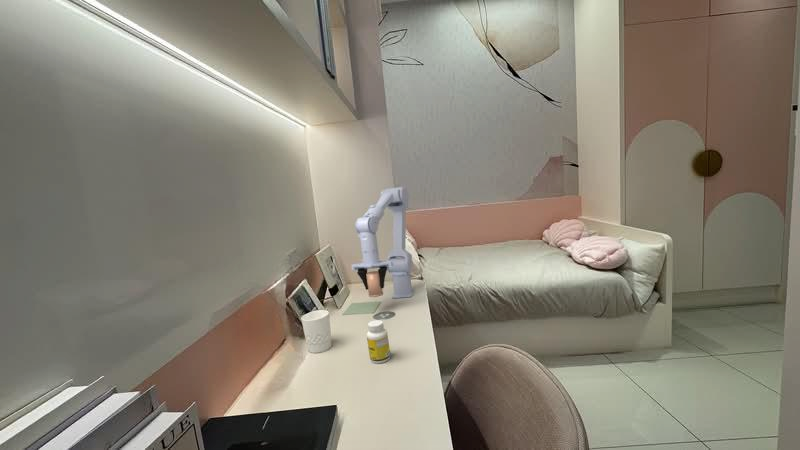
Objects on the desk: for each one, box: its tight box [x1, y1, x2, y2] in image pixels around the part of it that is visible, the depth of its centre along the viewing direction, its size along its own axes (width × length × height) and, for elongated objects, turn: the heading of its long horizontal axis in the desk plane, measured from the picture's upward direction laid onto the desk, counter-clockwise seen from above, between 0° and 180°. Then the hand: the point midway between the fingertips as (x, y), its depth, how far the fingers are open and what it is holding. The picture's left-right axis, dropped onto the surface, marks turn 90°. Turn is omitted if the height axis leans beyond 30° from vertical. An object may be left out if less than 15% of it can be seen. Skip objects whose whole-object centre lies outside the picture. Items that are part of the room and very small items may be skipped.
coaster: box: [372, 310, 396, 321], centre depth 122 cm, size 8×8×1 cm
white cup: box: [300, 309, 333, 354], centre depth 102 cm, size 8×8×10 cm
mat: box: [342, 300, 381, 316], centre depth 133 cm, size 12×12×1 cm
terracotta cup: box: [366, 270, 384, 298], centre depth 124 cm, size 5×5×8 cm
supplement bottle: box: [366, 319, 391, 364], centre depth 90 cm, size 5×5×10 cm
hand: (375, 288), depth 124 cm, fingers closed on terracotta cup, 5 cm apart
